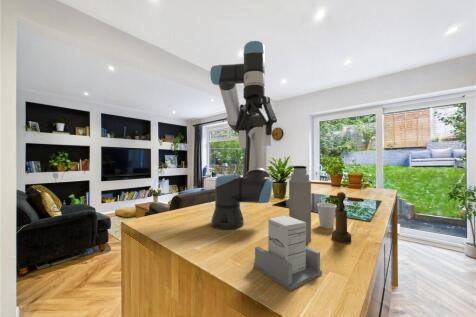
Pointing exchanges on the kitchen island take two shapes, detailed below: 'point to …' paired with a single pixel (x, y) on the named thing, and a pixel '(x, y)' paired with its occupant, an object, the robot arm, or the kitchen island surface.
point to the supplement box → (288, 241)
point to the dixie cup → (326, 214)
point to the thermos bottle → (300, 198)
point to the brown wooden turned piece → (341, 222)
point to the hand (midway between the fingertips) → (253, 146)
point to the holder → (287, 268)
